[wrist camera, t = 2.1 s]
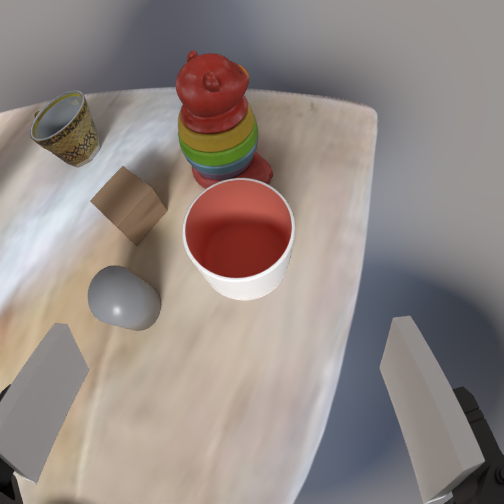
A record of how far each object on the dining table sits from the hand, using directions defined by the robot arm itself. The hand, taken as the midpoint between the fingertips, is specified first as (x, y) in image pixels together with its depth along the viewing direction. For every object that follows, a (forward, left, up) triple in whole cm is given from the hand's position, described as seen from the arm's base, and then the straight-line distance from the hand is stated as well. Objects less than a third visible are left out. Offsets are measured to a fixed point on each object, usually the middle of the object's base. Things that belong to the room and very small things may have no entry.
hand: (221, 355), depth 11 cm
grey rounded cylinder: (-12, -9, -23) cm, 27 cm away
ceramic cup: (-42, -9, -23) cm, 48 cm away
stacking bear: (-23, +10, -23) cm, 34 cm away
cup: (-10, +5, -23) cm, 25 cm away
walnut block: (-23, -4, -23) cm, 32 cm away
